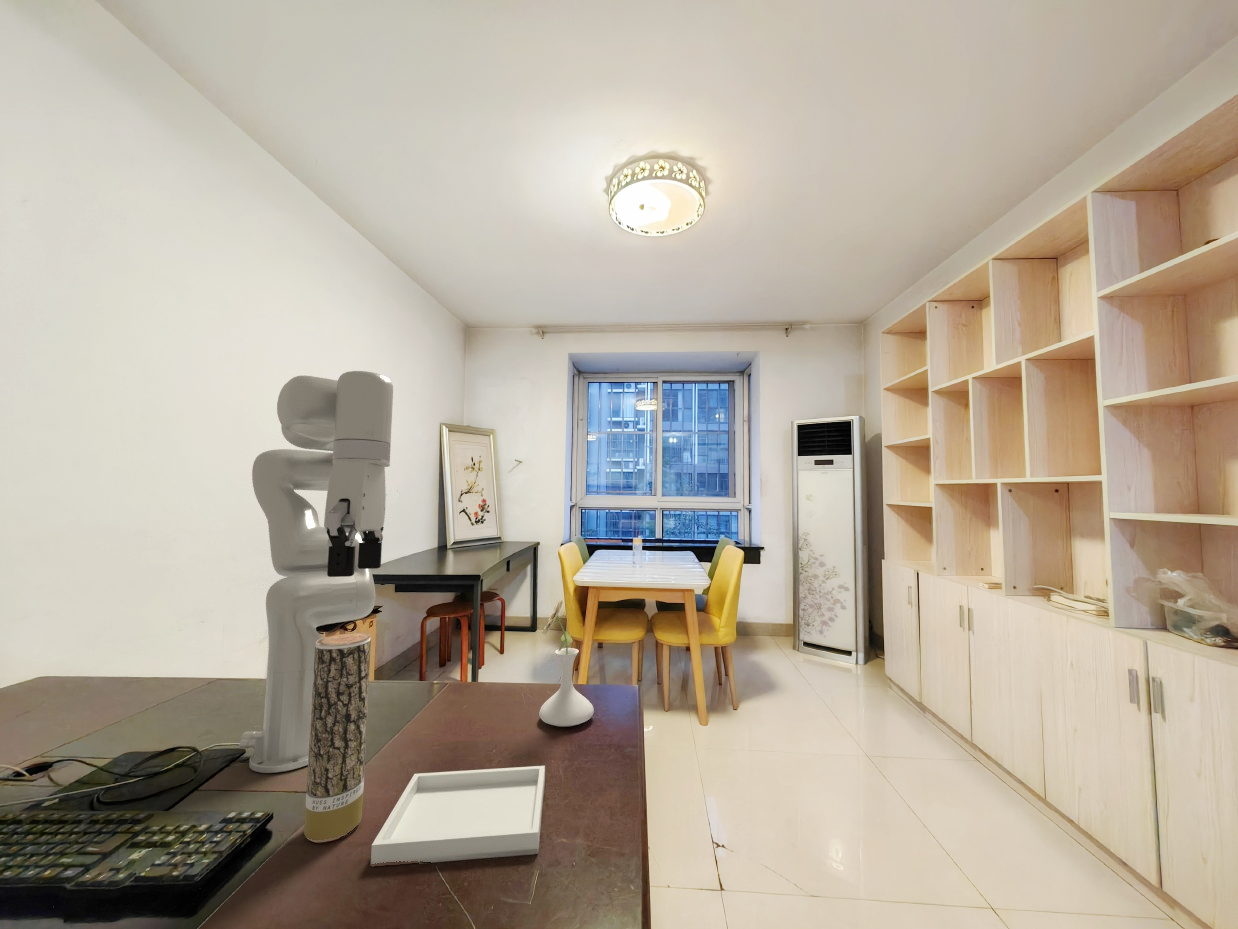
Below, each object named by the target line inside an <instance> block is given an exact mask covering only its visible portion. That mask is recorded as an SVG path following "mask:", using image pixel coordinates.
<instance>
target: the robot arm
mask: <svg viewBox="0 0 1238 929" xmlns="http://www.w3.org/2000/svg"><path fill="white" fill-rule="evenodd" d="M393 400H394V385H393V382H392V380H390V379H389V378H388V377H387V376H385V375H382V374H380V373H377V372H372V371H366V370H352V371H346V372H343V373H342V374H341V375H339V377H338V379H332V378H331V379H330V378H327V377H326V378H324V377H319V376H312V375H296V376H294V377H292V378H291V379H289V380H288V381H287V382H286V383H285V384H284V385H283V386H282V387H281V389H280V392H279V394H278V397H277V402H276V404H277V405H276V411H277V412H276V413H277V417H278V420H279V422H280V425H281V426H280V427H281V432H282V435H283V438H284V439H285V440H286V441H287V442H288V443H290V445H293V446H294V447H297V448H299V449H290V448H289V449H288V448H284V449H283V448H282V449H281V448H279V449H270V450H267V451H266V450H265V451H264V452H262V453H259V454H258V455H257V456H256V457H255V460H254V461H253V463H252V464H253V465H252V468H251V469H252V472H251V476H252V479H251V480H252V482H251V483H252V487H253V491H254V495H255V498H256V500H257V503H258V504H259V506H260V508H261V510H262V512H263V514H264V516H265V518H266V519H267V524H268V537H269V545H270V547H269V548H270V556H271V557H270V558H271V562H272V567H273V569H274V571H275V572H276V574H278V575H279V576H282V577H283V578H281V579H279V580H277V581H275V582H274V583H273V584H271V586H270V587H269V589H268V590H267V593H266V596H265V611H266V621H267V628H268V652H267V654H268V655H267V665H266V666H267V668H266V681H265V682H266V685H265V696H264V698H265V699H264V711H263V713H264V715H263V723H262V724H263V726H262V730H261V731H257V730H254V731H249V730H248V731H244V732H243V733H242V735H241V737H240V742H239V745H238V747H239V749H241V750H242V749H249V748H250V749H251V748H253V750H254V752H253V753H252V754H251V756H250V757H249V763H248V765H249V769H251V771H253V772H256V773H261V774H273V773H282V772H283V773H284V772H288V771H293V770H297V769H300V768H302V767H306V766H308V756H309V740H310V724H311V708H312V692H313V675H314V659H315V646H316V641H317V640H319V639H322V638H324V637H323V636H322V634H320V633H319V632H318V631H317V627H320V626H325V625H330V624H336V623H343V622H350V621H356V620H361V619H363V618H366V617H367V616H369V615H370V614H371V612H373V609H374V608H375V605H376V597H377V596H376V587H375V585H376V584H375V582H374V577H373V572H372V571H373V570H374V569H380V568H381V567H382V549H383V546H382V545H383V540H384V539H383V538H384V535H383V531H384V525H385V518H386V499H387V498H386V496H387V494H386V493H387V492H386V468H387V467H390V465H391V464H390V463H391V442H392V424H393V423H392V422H393V421H392V420H393V405H394V404H393V403H394V402H393ZM302 449H303V450H302ZM304 449H305V450H304ZM313 450H316V451H313ZM326 451H327V452H326ZM296 490H297V491H323V492H325V491H327V492H326V500H325V501H326V502H325V510H324V517H323V518H324V522H323V527H322V526H321V525H320V521H319V515H318V511H317V510H316V508H315V507H314V506H313V505H312V504H311V503H310V502H309V501H308V500H307V498H305V497H303V496H302V495H300V494H299V493H297V492H296ZM372 569H373V570H372Z"/></svg>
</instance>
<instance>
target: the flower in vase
mask: <svg viewBox="0 0 1238 929" xmlns="http://www.w3.org/2000/svg"><path fill="white" fill-rule="evenodd" d="M563 600H564V599H559V600H558V602H557V605H555V607H554V609H553V612H552V615H551V616H550V617H549V618H548V619H547V622H548V623H547V624H546V625H545V626H544V628H543V629H542V636H543V635H544V636H545V635H546V634H547V633H548V632H549V631H550V630H551V628H552V626H553V625H554V623H556V622H558V624H559V626H560V628H561V630H562V633H563V634H562V635H561V637H560V641H561V644H560V646H559V648H558V649H556V650H555V651H554V654H555V655H556V656H557V658H558V660H559V664H560V665H559V666H560V670H561V675H560V676H561V679H560V680H561V683H560V687H559V689H558V690H557V691H556V692H555V693H554V694H553V695H552V696H550V697H549V698H548V699H547V700H546V701H545V702H544V703H543V704H542V705H541V707H540V708H539V712H538V716H539V717H540V719H541V721H542V722H544V723H545V724H548V725H550V726H556V727H573V726H577V725H581V724H582V723H585V722H587V721H588V720H590V719H591V718H592V716H593V715H594V712H595V710H594V706H593V703H591V702H590V700H589V699H588V698H586V697H585V696H584V695H582V694H581V693H580V692H579V691H578V690H576V688H575V687H574V684H573V668H574V667H573V666H574V663H575V659H576V656H578V655H579V652H580V651H579V649H577V648H572V647H570V645H572V643H573V642H574V641H573V639H572V636H571V635H570V634H569V632H568V630H565V628H564V626H563V624H562V622H561V620H560V618H559V613H560V611H561V609H562V606H563V603H564V601H563ZM564 646H565V648H564Z"/></svg>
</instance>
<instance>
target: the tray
mask: <svg viewBox="0 0 1238 929" xmlns="http://www.w3.org/2000/svg"><path fill="white" fill-rule="evenodd" d="M545 778H546V765H534V766H531V765H530V766H519V767H504V768H503V767H501V768H500V767H499V768H485V769H484V768H483V769H469V770H451V771H439V772H421V773H419V772H418V773H414V774H413V776H412V777H411V779H410V780H409V782H408V784H407V785H406V788H405V789H404V791H403V792H402V794H401V796H400V797H399V799H398V801H397V802H396V804H395V806H394V808H393V809H392V810H391V812H390V814H389V816H388V817H387V818H386V821H385V822H384V824H383V825H382V827H381V829H380V831H379V832H378V834H377V835H376V837H375V839H374V841H373V842H372V844H371V851H370V853H371V854H370V865H371V864H375V863H376V864H377V863H383V862H384V863H386V862H396V861H397V862H399V861H401V862H403V861H405V862H407V861H408V862H411V861H418V862H420V861H423V862H431V863H440V862H441V863H442V862H443V863H444V862H454V861H455V862H456V861H467V860H478V859H479V860H481V859H490V858H491V859H492V858H503V857H514V856H517V857H518V856H527V855H538V854H539V849H540V848H539V847H540V839H541V837H540V836H541V827H542V815H543V804H544V794H545V786H546V785H545V783H546V782H545V780H546V779H545Z"/></svg>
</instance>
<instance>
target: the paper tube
mask: <svg viewBox="0 0 1238 929" xmlns="http://www.w3.org/2000/svg"><path fill="white" fill-rule="evenodd" d="M371 636H372V635H371V634H369V633H364V632H353V633H352V632H351V633H348V632H347V633H341V634H339V633H338V634H334V635H330V636H326V637H323V638H322V639H319V640H317V641H316V646H315V659H314V675H313V692H312V708H311V724H310V740H309V756H308V765H307V773H306V774H307V775H306V777H307V778H306V788H305V789H306V794H305V810H304V827H303V835H305V836H306V837H307V838H309V839H312V840H324V839H329V838H335V837H338V836H341V835H344V834H346V833H348V831H351V830H352V829H353V828H355V827H356V826H357V825H358V826H359V824H360V823H359V822H361V821H362V817H363V804H364V803H363V802H364V789H365V788H364V786H365V785H364V784H365V766H366V746H367V745H366V744H367V725H368V724H367V723H368V707H369V706H368V705H369V688H370V687H369V686H370V684H369V683H370V664H371V663H370V662H371V644H372V643H371V642H372V641H371V640H372V639H371ZM358 823H359V824H358ZM358 826H357V827H358ZM357 827H356V828H357ZM356 828H355V829H356ZM305 836H304V837H305ZM306 837H305V838H306Z"/></svg>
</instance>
